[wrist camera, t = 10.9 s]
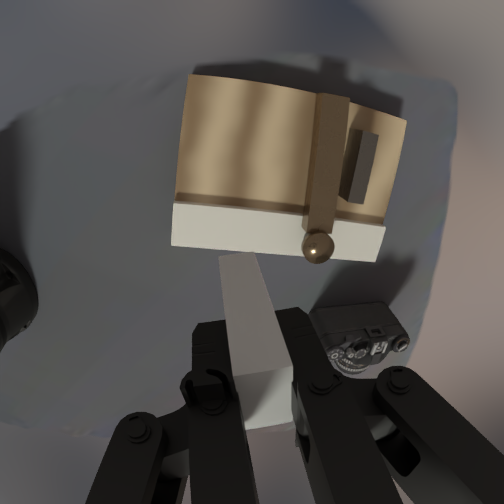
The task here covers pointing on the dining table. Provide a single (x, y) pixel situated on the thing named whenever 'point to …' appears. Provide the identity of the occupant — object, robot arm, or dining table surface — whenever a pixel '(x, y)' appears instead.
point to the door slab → (270, 148)
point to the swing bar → (324, 175)
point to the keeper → (357, 165)
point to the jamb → (266, 231)
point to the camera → (358, 334)
